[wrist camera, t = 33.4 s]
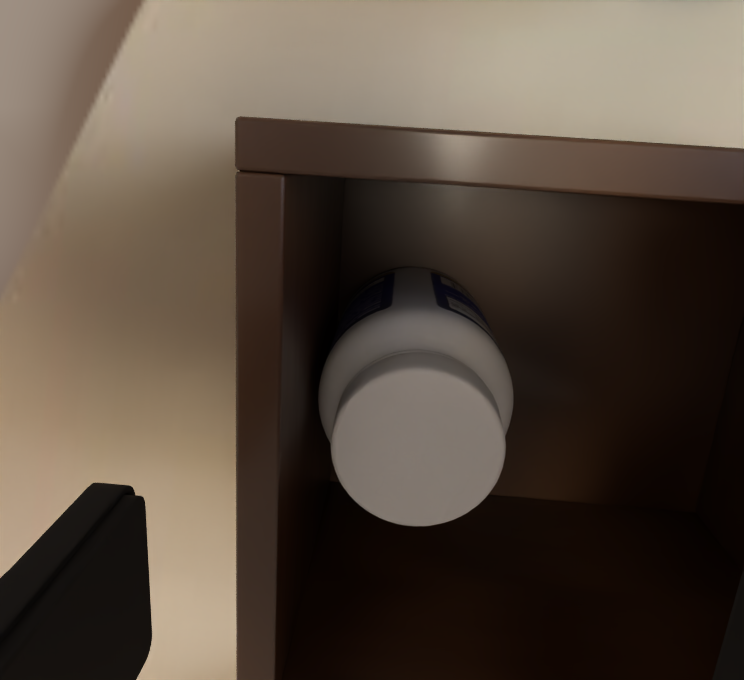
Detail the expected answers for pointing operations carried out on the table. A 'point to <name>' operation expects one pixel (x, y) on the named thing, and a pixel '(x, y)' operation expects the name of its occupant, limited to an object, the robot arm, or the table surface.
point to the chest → (530, 405)
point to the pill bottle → (415, 399)
